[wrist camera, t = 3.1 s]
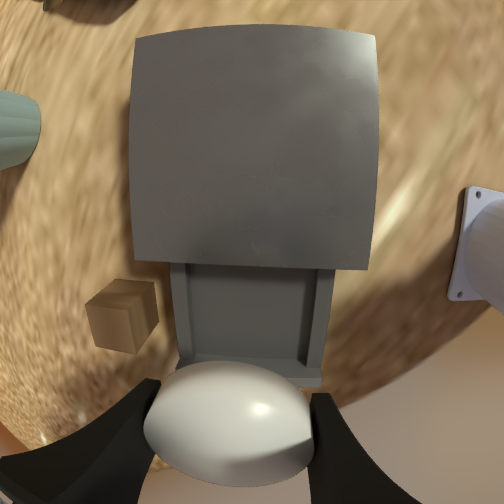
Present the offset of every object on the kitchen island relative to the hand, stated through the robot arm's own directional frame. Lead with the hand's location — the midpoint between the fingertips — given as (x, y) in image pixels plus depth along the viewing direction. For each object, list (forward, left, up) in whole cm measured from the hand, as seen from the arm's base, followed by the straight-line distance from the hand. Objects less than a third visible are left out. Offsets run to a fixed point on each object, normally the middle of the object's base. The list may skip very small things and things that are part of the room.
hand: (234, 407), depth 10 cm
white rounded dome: (0, 0, +1) cm, 1 cm away
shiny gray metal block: (0, -9, -9) cm, 13 cm away
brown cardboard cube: (+8, +1, -9) cm, 12 cm away
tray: (0, -1, -8) cm, 8 cm away
